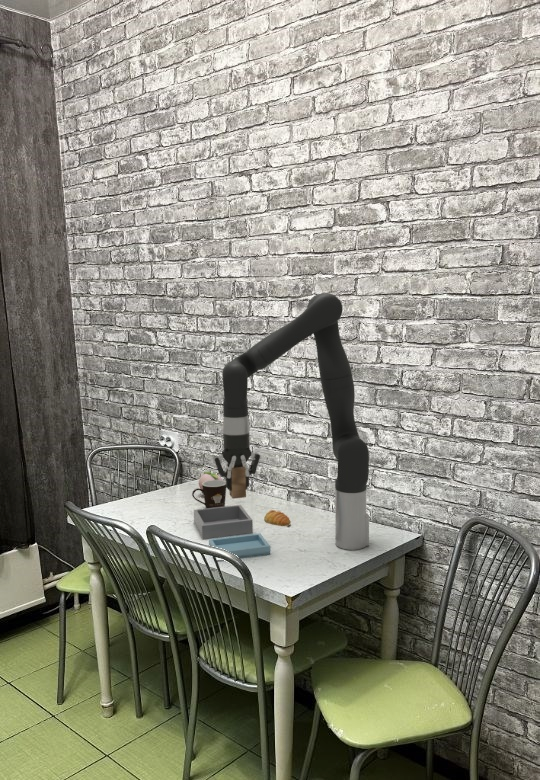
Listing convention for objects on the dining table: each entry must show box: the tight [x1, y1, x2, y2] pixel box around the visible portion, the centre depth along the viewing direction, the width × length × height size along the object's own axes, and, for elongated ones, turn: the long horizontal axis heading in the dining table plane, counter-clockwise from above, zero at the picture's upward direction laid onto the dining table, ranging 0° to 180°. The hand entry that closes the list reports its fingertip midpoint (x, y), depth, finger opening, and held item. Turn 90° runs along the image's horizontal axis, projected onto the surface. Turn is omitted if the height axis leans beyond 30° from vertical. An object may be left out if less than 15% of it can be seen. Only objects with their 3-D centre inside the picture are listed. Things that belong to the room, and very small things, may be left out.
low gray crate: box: [193, 504, 254, 541], centre depth 203 cm, size 16×16×5 cm
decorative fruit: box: [198, 470, 223, 489], centre depth 239 cm, size 9×8×10 cm
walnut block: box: [229, 466, 247, 500], centre depth 183 cm, size 4×4×9 cm
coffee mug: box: [191, 479, 227, 509], centre depth 222 cm, size 12×9×10 cm
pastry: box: [264, 509, 291, 527], centre depth 208 cm, size 9×7×4 cm
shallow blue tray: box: [208, 533, 271, 559], centre depth 186 cm, size 16×11×2 cm
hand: (237, 488), depth 183 cm, fingers closed on walnut block, 4 cm apart
